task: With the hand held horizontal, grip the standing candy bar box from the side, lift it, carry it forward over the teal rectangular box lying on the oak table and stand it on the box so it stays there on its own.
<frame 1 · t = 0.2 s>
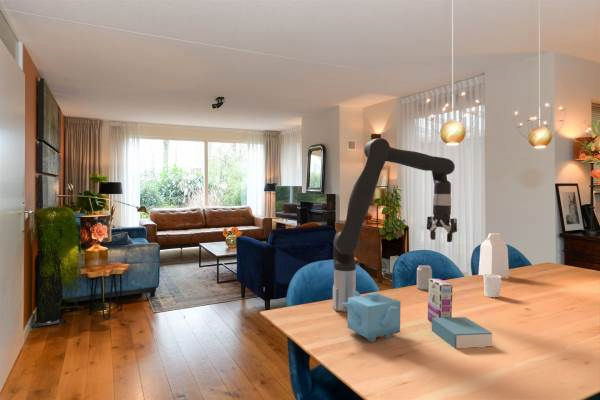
hand: (441, 240, 172), 29 cm above the table, tool pointing down, fingers open, 8 cm apart
white cup: (492, 296, 190), on the table
candy bar box: (439, 324, 150), on the table
can: (424, 289, 203), on the table
teakettle: (371, 335, 137), on the table
teal rectangular box: (460, 339, 135), on the table
milk: (493, 276, 235), on the table
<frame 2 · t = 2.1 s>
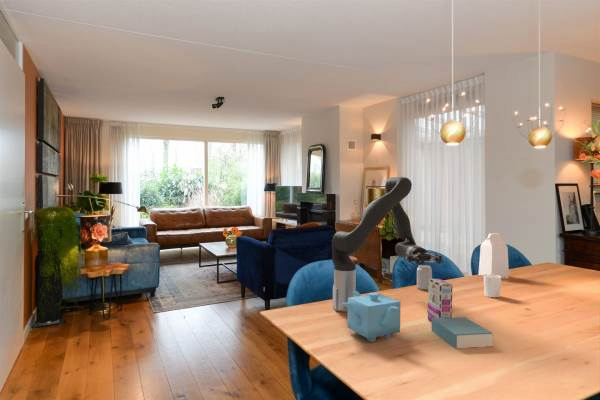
hand: (429, 261, 160), 22 cm above the table, tool horizontal, fingers open, 8 cm apart
nothing on the table moved.
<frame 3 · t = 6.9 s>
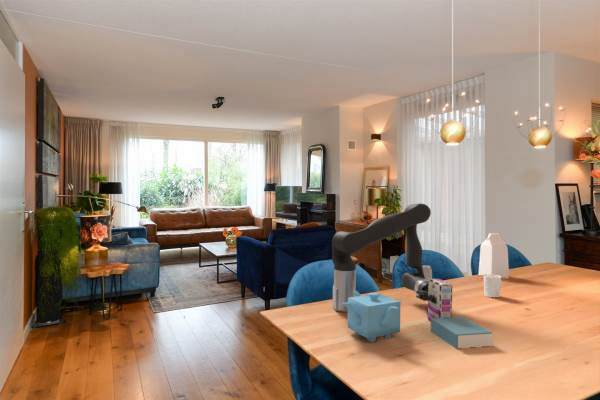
hand: (442, 300, 147), 10 cm above the table, tool horizontal, fingers closed on candy bar box, 5 cm apart
candy bar box: (439, 324, 149), on the table, touching gripper
everything else where it was.
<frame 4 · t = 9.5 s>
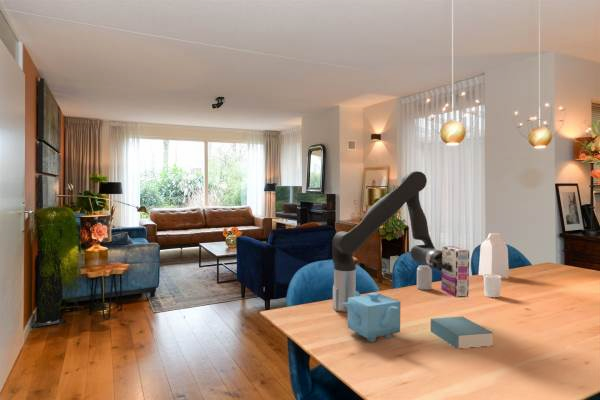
hand: (458, 268, 137), 24 cm above the table, tool horizontal, fingers closed on candy bar box, 5 cm apart
candy bar box: (454, 294, 140), point 14 cm above the table, touching gripper
everything else where it was.
when the fingers open (15 cm above the table, at t = 12.4 s): candy bar box moves 1 cm, resting on teal rectangular box.
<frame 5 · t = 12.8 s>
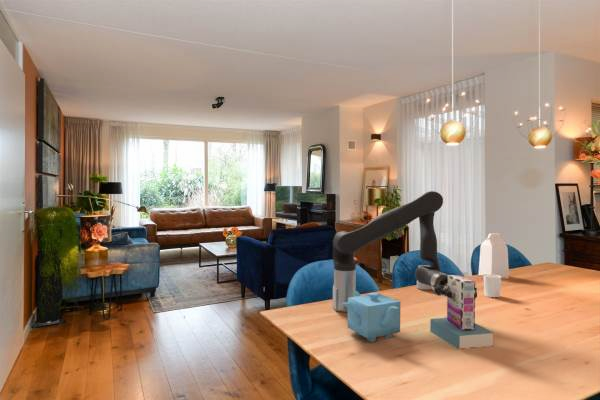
hand: (463, 295, 132), 16 cm above the table, tool horizontal, fingers open, 8 cm apart
candy bar box: (460, 325, 135), point 4 cm above the table, touching teal rectangular box
teal rectangular box: (459, 339, 135), on the table, touching candy bar box
everything else where it was.
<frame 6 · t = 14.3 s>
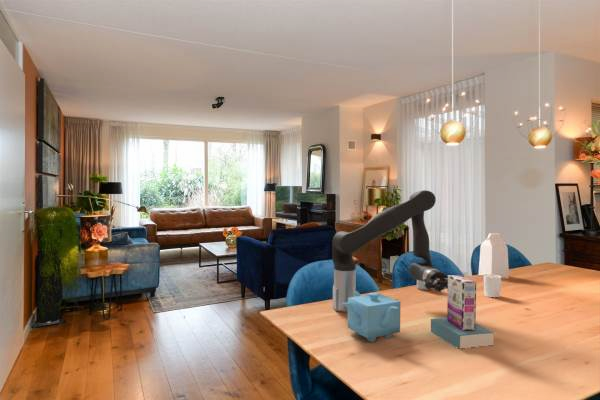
hand: (451, 289, 141), 15 cm above the table, tool horizontal, fingers open, 8 cm apart
nothing on the table moved.
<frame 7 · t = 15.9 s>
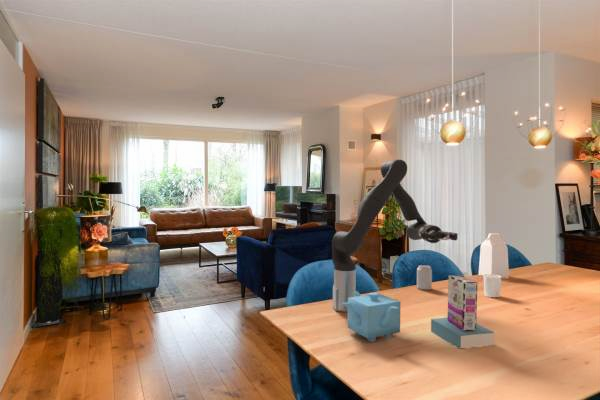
hand: (445, 237, 153), 33 cm above the table, tool horizontal, fingers open, 8 cm apart
nothing on the table moved.
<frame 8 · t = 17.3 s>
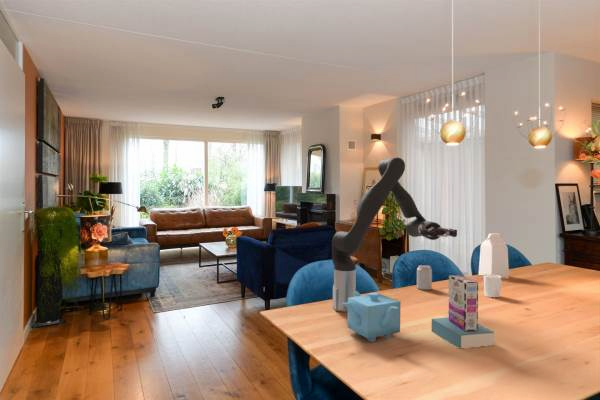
hand: (444, 234, 153), 34 cm above the table, tool horizontal, fingers open, 8 cm apart
nothing on the table moved.
at the end: candy bar box 0.9 cm from the teal rectangular box (horizontally); candy bar box point 4.4 cm above the table; candy bar box tilted 1° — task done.
